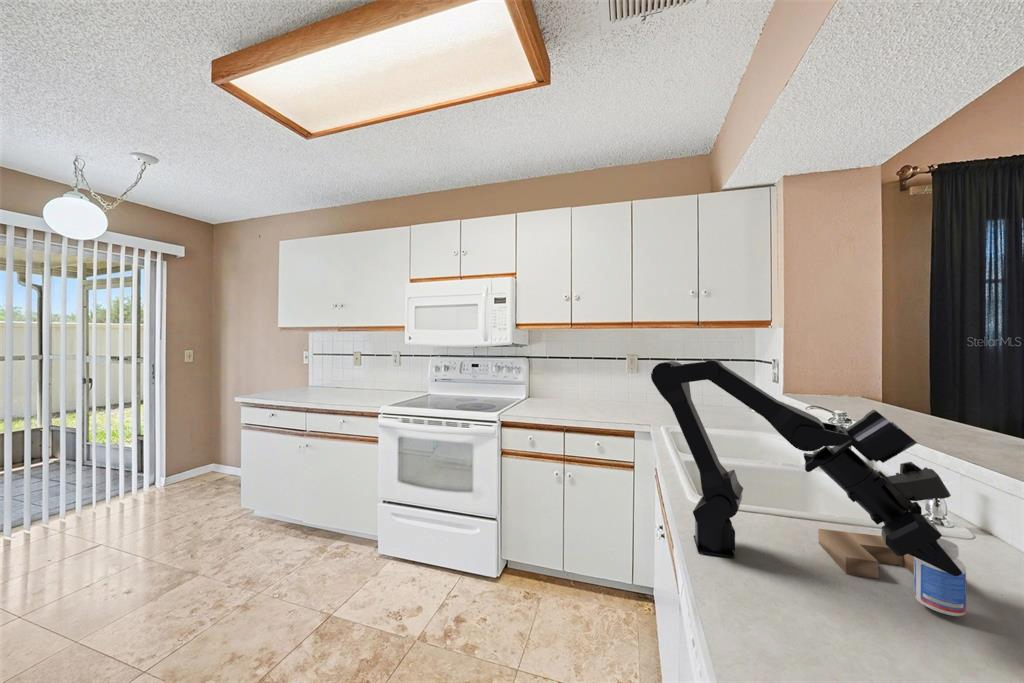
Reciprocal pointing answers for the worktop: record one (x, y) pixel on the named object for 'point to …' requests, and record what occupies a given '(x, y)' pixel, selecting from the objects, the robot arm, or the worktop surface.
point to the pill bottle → (941, 584)
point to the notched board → (860, 552)
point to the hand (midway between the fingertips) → (952, 565)
